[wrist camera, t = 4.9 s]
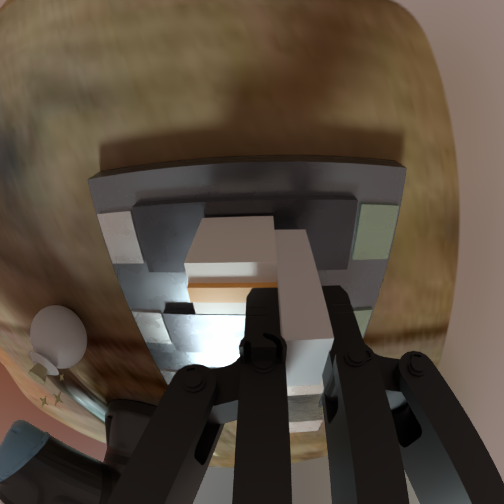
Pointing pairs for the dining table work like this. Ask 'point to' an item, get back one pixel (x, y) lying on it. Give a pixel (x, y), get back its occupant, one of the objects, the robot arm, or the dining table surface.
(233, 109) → the dining table surface
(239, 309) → the knob
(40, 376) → the ornament
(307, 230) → the panel
